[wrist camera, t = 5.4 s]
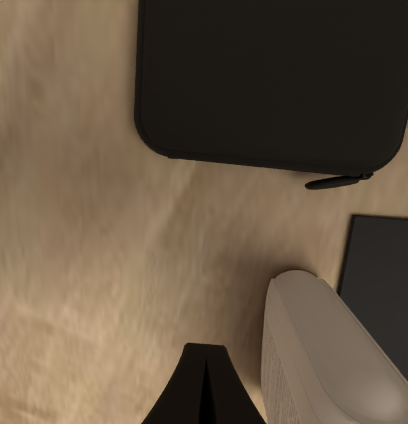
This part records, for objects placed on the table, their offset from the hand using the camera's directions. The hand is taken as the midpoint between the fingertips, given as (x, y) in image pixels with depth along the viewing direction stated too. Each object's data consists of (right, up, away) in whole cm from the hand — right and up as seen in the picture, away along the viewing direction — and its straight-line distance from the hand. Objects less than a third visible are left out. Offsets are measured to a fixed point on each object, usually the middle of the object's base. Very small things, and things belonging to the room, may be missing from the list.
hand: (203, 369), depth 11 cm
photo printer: (+6, -3, +12) cm, 14 cm away
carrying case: (+4, +12, +8) cm, 15 cm away
